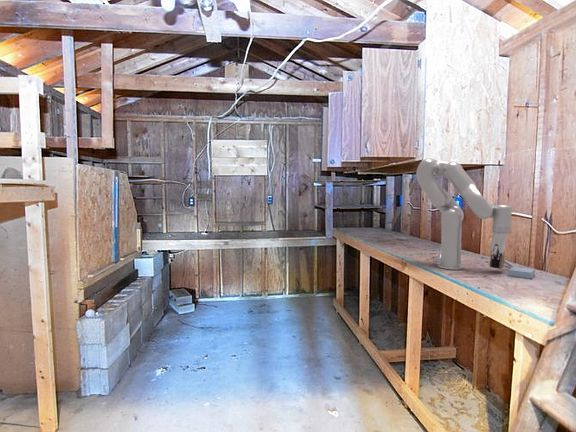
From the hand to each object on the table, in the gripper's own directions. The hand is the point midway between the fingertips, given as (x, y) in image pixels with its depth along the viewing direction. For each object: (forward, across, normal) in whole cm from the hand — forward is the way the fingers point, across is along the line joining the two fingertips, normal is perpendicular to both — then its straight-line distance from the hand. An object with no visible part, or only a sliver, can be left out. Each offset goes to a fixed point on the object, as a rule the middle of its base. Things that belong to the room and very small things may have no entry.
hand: (496, 265), depth 172 cm
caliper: (+3, -17, +2) cm, 18 cm away
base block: (+3, +1, +11) cm, 11 cm away
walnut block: (+1, 0, 0) cm, 1 cm away
